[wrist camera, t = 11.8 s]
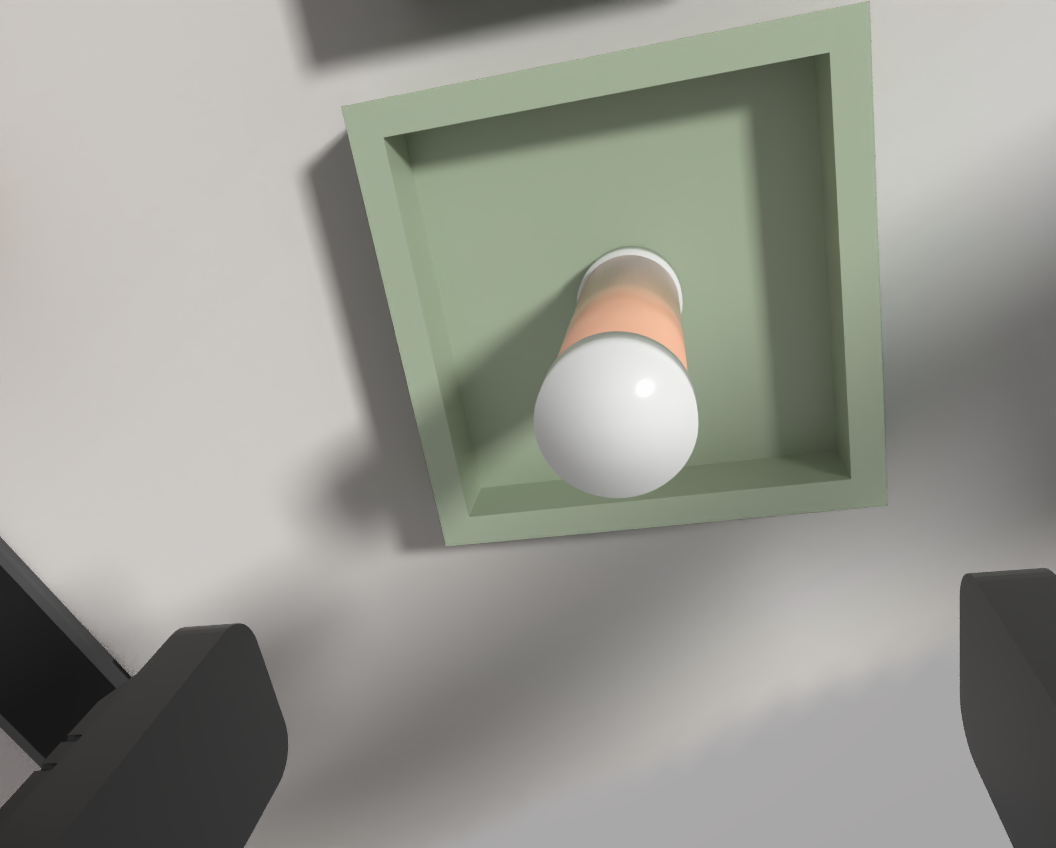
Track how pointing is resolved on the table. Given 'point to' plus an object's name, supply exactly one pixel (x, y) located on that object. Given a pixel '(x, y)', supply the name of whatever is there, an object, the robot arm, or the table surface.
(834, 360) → the parts tray
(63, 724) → the cell phone
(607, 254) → the peg
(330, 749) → the table surface
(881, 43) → the table surface
